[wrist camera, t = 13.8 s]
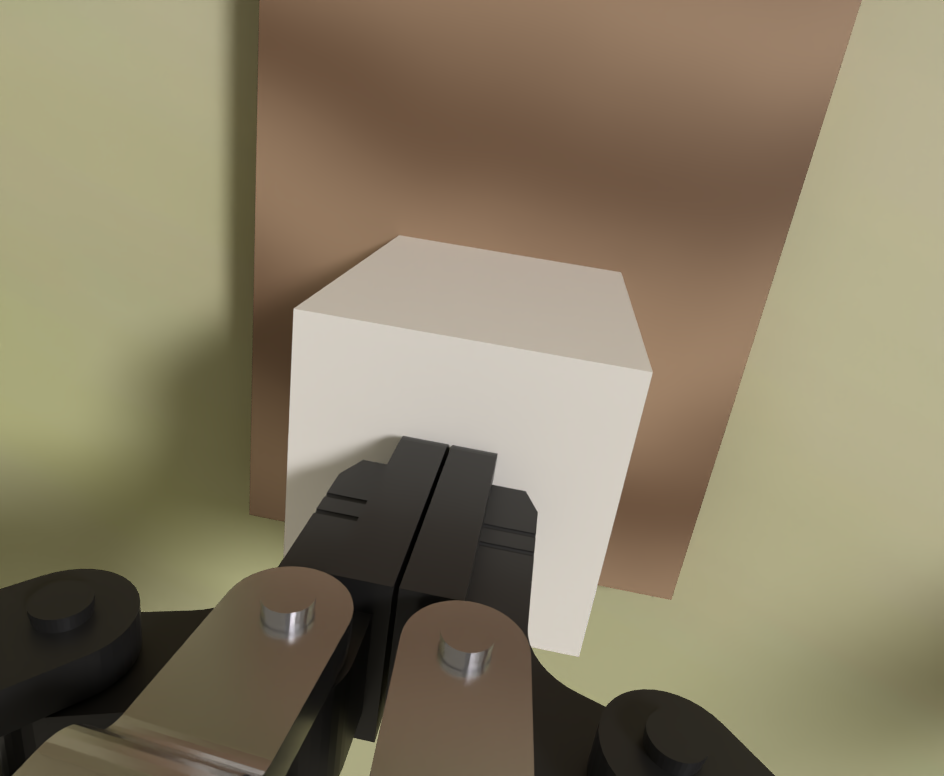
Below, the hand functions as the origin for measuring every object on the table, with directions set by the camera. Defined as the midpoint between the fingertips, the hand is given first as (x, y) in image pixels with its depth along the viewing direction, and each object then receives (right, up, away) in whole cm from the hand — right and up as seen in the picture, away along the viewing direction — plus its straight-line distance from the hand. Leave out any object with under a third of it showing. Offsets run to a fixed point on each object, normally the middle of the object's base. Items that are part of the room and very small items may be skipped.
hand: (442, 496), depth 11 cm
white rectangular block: (+1, +2, +6) cm, 7 cm away
